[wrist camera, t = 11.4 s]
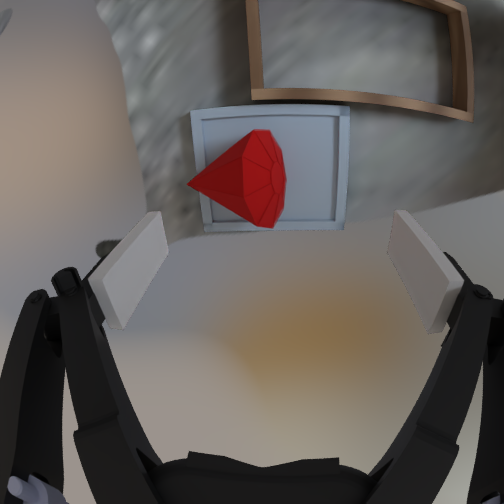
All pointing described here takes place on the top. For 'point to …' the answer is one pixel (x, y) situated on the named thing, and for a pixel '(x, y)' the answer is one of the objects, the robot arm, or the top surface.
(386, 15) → the top surface
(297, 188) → the tray
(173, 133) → the top surface
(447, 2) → the frame
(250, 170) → the gemstone
